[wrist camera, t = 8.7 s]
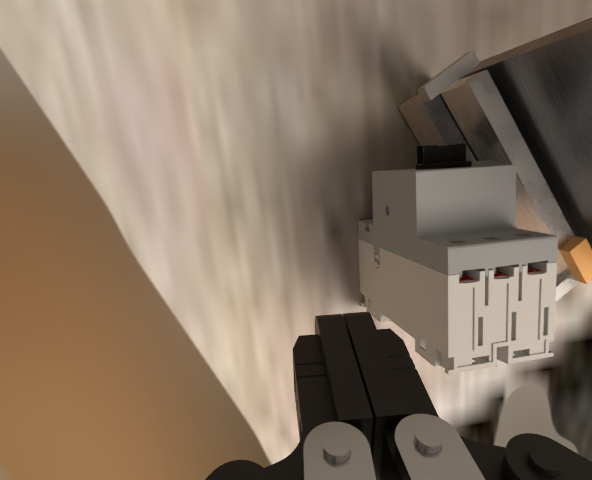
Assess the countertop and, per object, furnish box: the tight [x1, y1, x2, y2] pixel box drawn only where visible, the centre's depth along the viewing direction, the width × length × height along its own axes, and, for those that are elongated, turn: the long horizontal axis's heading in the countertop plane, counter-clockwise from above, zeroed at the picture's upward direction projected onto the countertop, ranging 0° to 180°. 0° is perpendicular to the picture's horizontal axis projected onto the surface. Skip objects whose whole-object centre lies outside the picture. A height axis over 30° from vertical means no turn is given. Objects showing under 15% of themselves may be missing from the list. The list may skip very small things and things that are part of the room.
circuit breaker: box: [358, 143, 558, 374], centre depth 34 cm, size 8×14×15 cm, turn 4°
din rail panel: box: [417, 18, 592, 302], centre depth 29 cm, size 20×6×26 cm, turn 36°
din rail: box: [398, 70, 592, 284], centre depth 36 cm, size 17×2×12 cm, turn 36°
